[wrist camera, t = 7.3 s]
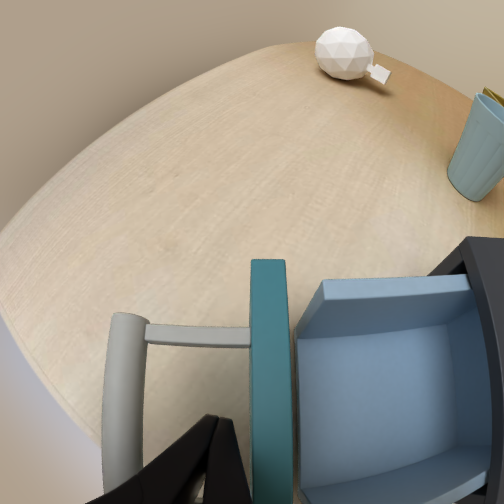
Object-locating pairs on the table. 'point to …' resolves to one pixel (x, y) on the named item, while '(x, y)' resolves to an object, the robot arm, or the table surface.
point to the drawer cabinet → (486, 341)
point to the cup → (479, 150)
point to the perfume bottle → (347, 55)
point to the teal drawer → (335, 390)
